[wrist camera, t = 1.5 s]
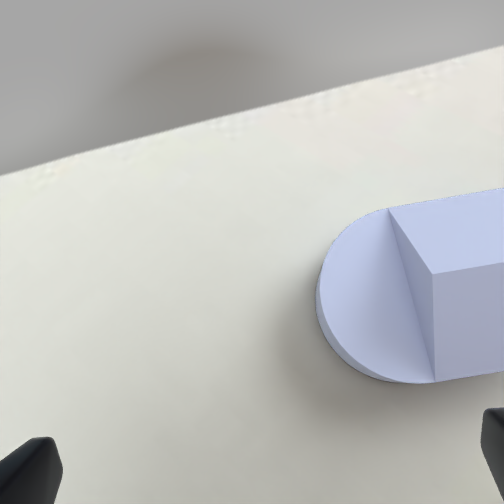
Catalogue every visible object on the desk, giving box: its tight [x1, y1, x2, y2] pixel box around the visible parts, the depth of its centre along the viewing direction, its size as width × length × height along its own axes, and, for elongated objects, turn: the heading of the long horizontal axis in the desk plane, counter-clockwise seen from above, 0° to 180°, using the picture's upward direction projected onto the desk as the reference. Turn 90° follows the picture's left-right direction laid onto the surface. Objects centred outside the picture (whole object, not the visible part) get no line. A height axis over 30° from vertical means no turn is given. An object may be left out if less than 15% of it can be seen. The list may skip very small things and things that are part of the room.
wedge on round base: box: [315, 188, 504, 384], centre depth 21 cm, size 9×7×13 cm
